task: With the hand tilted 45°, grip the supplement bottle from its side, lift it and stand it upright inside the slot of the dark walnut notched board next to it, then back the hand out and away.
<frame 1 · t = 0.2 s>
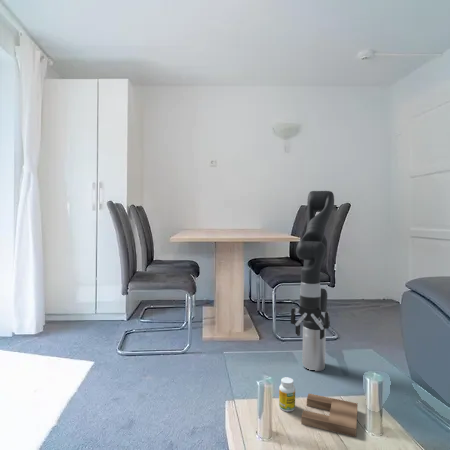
hand: (309, 337, 134), 18 cm above the table, tool pointing down, fingers open, 8 cm apart
notched board: (330, 417, 115), on the table
supplement bottle: (287, 408, 120), on the table
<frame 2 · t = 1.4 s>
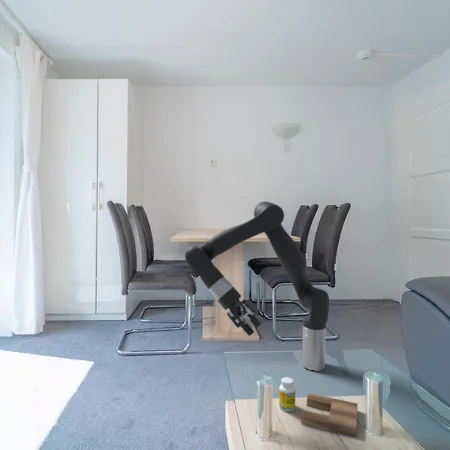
hand: (255, 329, 122), 25 cm above the table, tool tilted 45°, fingers open, 8 cm apart
nothing on the table moved.
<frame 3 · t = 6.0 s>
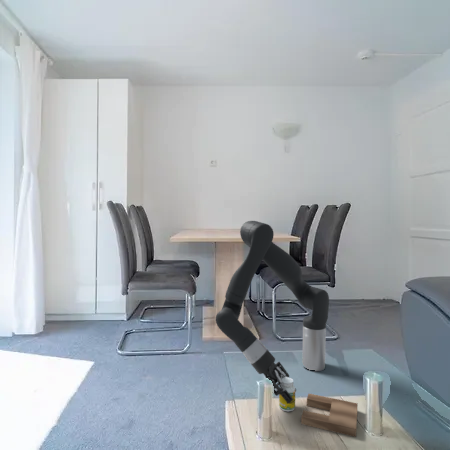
hand: (292, 396, 119), 4 cm above the table, tool tilted 45°, fingers closed on supplement bottle, 5 cm apart
supplement bottle: (287, 407, 120), on the table, touching gripper
when the fingers open (6 cm above the table, at t = 11.3 s): supplement bottle drops 1 cm, resting in notched board.
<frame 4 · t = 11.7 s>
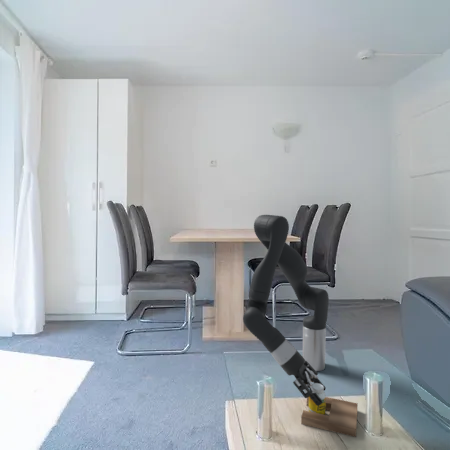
hand: (322, 397, 115), 6 cm above the table, tool tilted 45°, fingers open, 8 cm apart
supplement bottle: (316, 414, 116), resting in notched board
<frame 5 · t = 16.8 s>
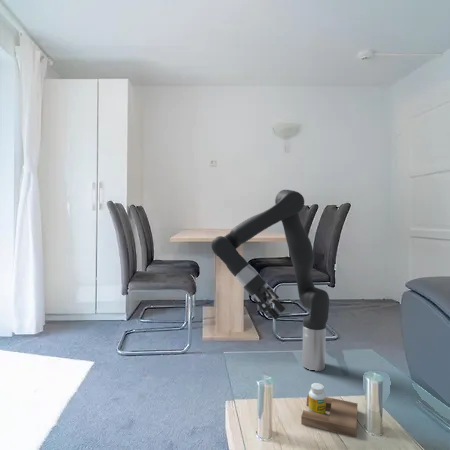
hand: (280, 314, 128), 29 cm above the table, tool tilted 45°, fingers open, 8 cm apart
nothing on the table moved.
at the end: supplement bottle 0.2 cm from the target spot on the notched board, point 0.0 cm above the notched board's base; supplement bottle tilted 0°; the gripper is holding nothing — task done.
